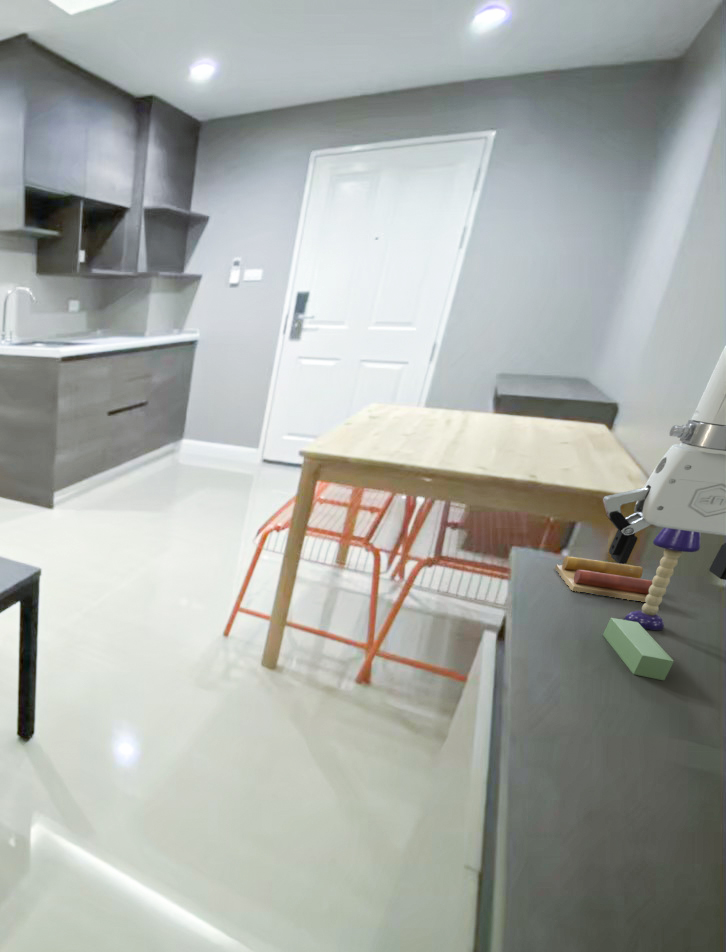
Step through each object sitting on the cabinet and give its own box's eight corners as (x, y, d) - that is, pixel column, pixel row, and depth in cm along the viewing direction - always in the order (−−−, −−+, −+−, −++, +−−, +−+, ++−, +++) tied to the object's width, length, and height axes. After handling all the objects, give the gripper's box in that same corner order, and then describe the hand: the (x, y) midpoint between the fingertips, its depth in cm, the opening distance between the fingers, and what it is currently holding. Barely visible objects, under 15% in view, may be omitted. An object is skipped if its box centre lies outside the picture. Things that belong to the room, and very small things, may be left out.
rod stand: (633, 581, 108) (641, 563, 107) (659, 605, 99) (668, 586, 98) (554, 569, 113) (560, 552, 112) (571, 591, 104) (579, 573, 103)
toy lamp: (617, 621, 94) (663, 520, 88) (620, 612, 97) (664, 514, 91) (661, 633, 91) (712, 529, 84) (663, 623, 94) (712, 521, 87)
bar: (602, 635, 90) (610, 617, 89) (629, 640, 89) (638, 622, 88) (633, 674, 80) (642, 655, 79) (664, 680, 79) (674, 661, 78)
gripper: (645, 436, 74) (589, 564, 81) (858, 454, 66) (777, 593, 73) (622, 427, 80) (572, 546, 87) (815, 442, 73) (744, 571, 79)
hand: (666, 567), depth 80 cm, fingers open, 9 cm apart
